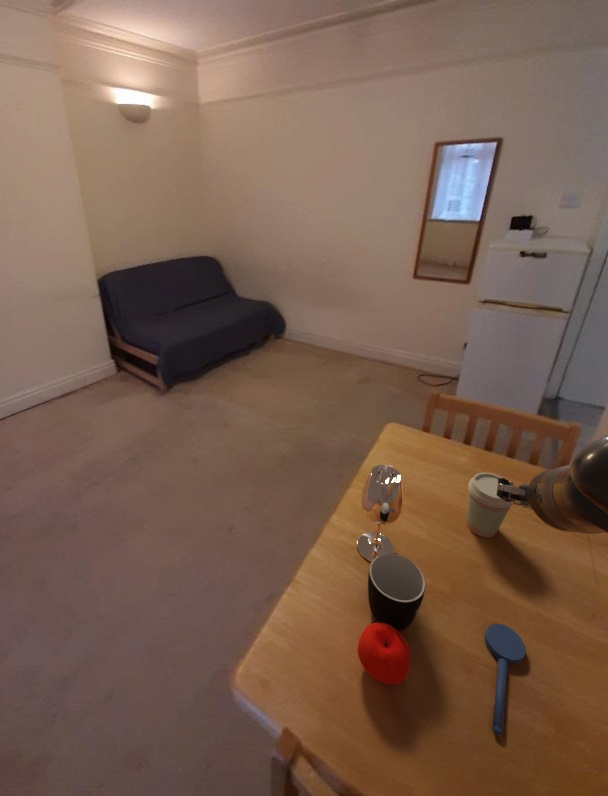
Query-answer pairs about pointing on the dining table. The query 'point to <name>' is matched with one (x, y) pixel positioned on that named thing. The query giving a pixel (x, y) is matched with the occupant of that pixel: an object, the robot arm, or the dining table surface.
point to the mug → (395, 590)
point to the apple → (384, 653)
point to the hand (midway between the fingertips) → (532, 501)
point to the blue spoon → (503, 664)
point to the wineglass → (380, 509)
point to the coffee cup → (485, 505)
